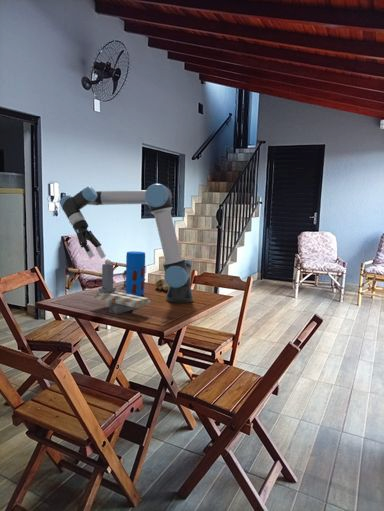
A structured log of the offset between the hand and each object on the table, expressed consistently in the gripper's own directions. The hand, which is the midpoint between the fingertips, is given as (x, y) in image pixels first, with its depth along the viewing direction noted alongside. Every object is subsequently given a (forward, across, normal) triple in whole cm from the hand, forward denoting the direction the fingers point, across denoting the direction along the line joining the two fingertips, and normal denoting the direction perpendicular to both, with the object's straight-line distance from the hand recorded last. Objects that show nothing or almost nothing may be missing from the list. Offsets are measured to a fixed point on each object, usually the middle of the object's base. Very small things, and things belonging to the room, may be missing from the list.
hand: (98, 257), depth 192 cm
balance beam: (+31, +7, 0) cm, 32 cm away
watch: (+14, -50, -11) cm, 53 cm away
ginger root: (+29, -50, +9) cm, 58 cm away
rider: (+20, +4, -4) cm, 20 cm away
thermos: (+24, -28, -3) cm, 37 cm away
